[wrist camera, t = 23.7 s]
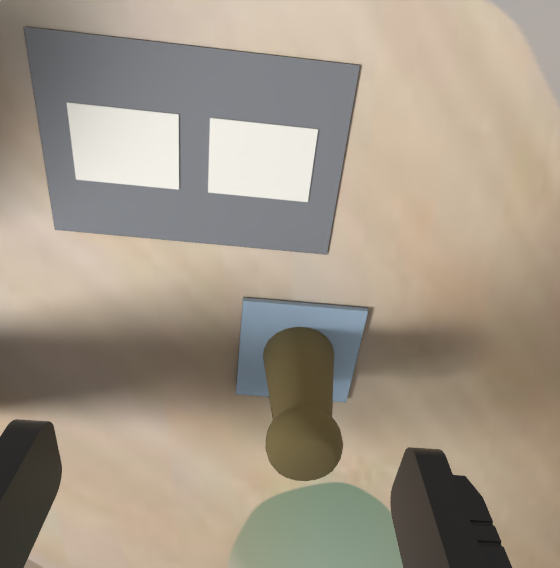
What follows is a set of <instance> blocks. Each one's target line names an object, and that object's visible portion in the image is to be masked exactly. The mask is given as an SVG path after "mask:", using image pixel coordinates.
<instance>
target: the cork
mask: <svg viewBox="0 0 560 568" xmlns="http://www.w3.org/2000/svg"><path fill="white" fill-rule="evenodd" d="M263 361H264V367H265V373H266V379H267V386H268V392H269V398H270V404H271V410H272V417H273V421H272V423H271V425H270V426H269V429H268V431H267V436H266V452H267V455H268V458H269V461H270V463H271V465H272V466H273V467H274V468H275V469H276V471H277V472H278V473H279V474H281V475H283V476H284V477H286V478H289V479H293V480H298V481H309V480H316V479H319V478H321V477H324V476H326V475H327V474H329V473H330V472H332V471H333V469H334V468H335V467H336V465H337V464H338V462H339V461H340V458H341V454H342V449H343V442H342V436H341V432H340V429H339V427H338V425H337V423H336V422H335V420H334V419H333V418H332V404H333V376H334V350H333V345H332V344H331V342H330V341H329V339H328V338H327V337H326V336H325V335H323V334H322V333H321V332H319V331H317V330H314V329H311V328H307V327H293V328H287V329H284V330H282V331H280V332H278V333H276V334H275V335H274V336H273V337H271V338H270V339H269V340H268V342H267V344H266V346H265V348H264V352H263Z"/></svg>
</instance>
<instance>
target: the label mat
mask: <svg viewBox="0 0 560 568" xmlns="http://www.w3.org/2000/svg"><path fill="white" fill-rule="evenodd" d="M24 33H25V40H26V46H27V53H28V59H29V66H30V72H31V79H32V85H33V91H34V98H35V104H36V111H37V117H38V124H39V130H40V137H41V143H42V150H43V156H44V162H45V169H46V175H47V182H48V188H49V195H50V201H51V208H52V214H53V221H54V227H55V230H63V231H74V232H85V233H96V234H107V235H118V236H129V237H140V238H151V239H162V240H173V241H184V242H195V243H206V244H217V245H228V246H239V247H249V248H260V249H271V250H282V251H293V252H304V253H315V254H326V255H327V251H328V246H329V240H330V234H331V229H332V223H333V217H334V211H335V206H336V200H337V194H338V188H339V183H340V177H341V171H342V166H343V160H344V154H345V148H346V143H347V137H348V131H349V126H350V120H351V114H352V108H353V103H354V97H355V91H356V85H357V80H358V74H359V68H360V65H353V64H344V63H336V62H327V61H318V60H310V59H301V58H292V57H284V56H275V55H266V54H258V53H249V52H240V51H232V50H223V49H214V48H206V47H197V46H188V45H180V44H171V43H162V42H154V41H145V40H136V39H128V38H119V37H110V36H102V35H93V34H84V33H76V32H67V31H58V30H50V29H41V28H32V27H24Z"/></svg>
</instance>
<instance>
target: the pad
mask: <svg viewBox="0 0 560 568" xmlns="http://www.w3.org/2000/svg"><path fill="white" fill-rule="evenodd" d="M367 314H368V309H367V308H362V307H350V306H339V305H327V304H315V303H303V302H292V301H280V300H268V299H256V298H245V297H243V308H242V321H241V334H240V348H239V361H238V374H237V387H236V394H239V395H252V396H266V397H269V392H268V386H267V379H266V373H265V367H264V361H263V352H264V348H265V346H266V344H267V342H268V340H269V339H270V338H271V337H273V336H274V335H275V334H276V333H278V332H280V331H282V330H284V329H287V328H293V327H307V328H311V329H314V330H317V331H319V332H321V333H322V334H323V335H325V336H326V337H327V338H328V339H329V341H330V342H331V344H332V345H333V350H334V376H333V401H334V402H346V401H347V397H348V393H349V389H350V384H351V380H352V376H353V372H354V368H355V364H356V360H357V356H358V351H359V347H360V343H361V339H362V335H363V331H364V327H365V323H366V318H367Z"/></svg>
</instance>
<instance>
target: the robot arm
mask: <svg viewBox="0 0 560 568" xmlns="http://www.w3.org/2000/svg"><path fill="white" fill-rule="evenodd" d="M61 475H62V465H61V460H60V455H59V450H58V445H57V440H56V435H55V430H54V426H53V424H52V423H51V422H48V421H33V420H18V419H16V420H13V421H12V422H10V423H9V424H8V426H7V427H6V429H5V430H4V432H3V433H2V435H1V436H0V568H23V567H24V565H25V563H26V561H27V559H28V556H29V554H30V552H31V550H32V548H33V545H34V543H35V541H36V539H37V537H38V534H39V532H40V530H41V528H42V526H43V523H44V521H45V519H46V517H47V515H48V512H49V510H50V508H51V506H52V504H53V501H54V499H55V497H56V494H57V492H58V489H59V485H60V481H61ZM391 514H392V519H393V523H394V528H395V532H396V537H397V541H398V546H399V550H400V555H401V559H402V563H403V568H512V566H511V564H510V561H509V559H508V557H507V554H506V552H505V549H504V547H502V546H501V540H500V537H499V535H498V533H497V530H496V528H495V526H493V521H492V518H491V516H490V514H489V511H488V509H487V506H486V504H485V502H484V499H483V497H482V496H481V495H480V493H479V492H478V491H477V490H476V489H475V487H474V486H473V485H472V484H471V482H470V481H469V480H468V479H467V478H466V476H459V475H453V474H452V472H451V469H450V466H449V464H448V461H447V458H446V456H445V454H444V453H443V451H441V450H439V449H425V448H410V447H409V448H407V449H406V450H405V453H404V455H403V458H402V461H401V464H400V467H399V469H398V472H397V475H396V478H395V481H394V484H393V486H392V490H391Z"/></svg>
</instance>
